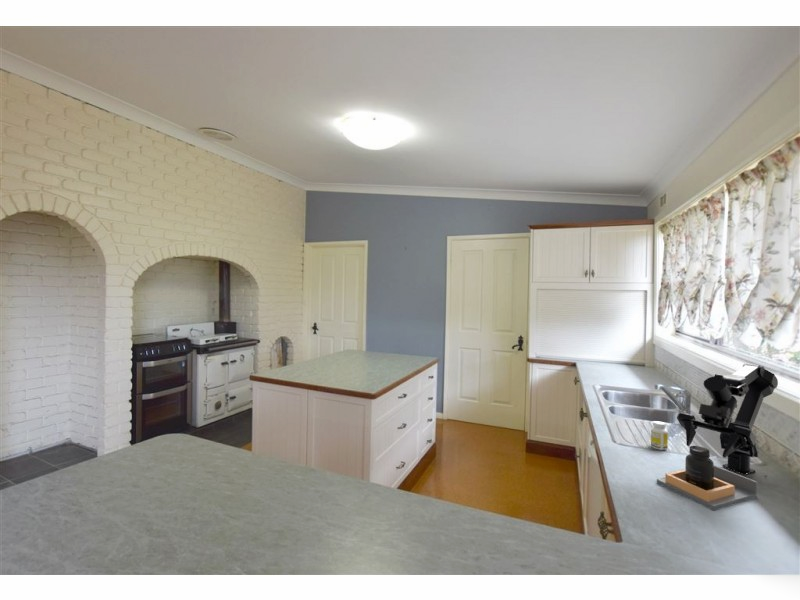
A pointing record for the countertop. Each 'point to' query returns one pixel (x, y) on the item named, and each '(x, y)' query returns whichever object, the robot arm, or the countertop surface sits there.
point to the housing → (725, 490)
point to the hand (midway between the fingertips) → (705, 450)
